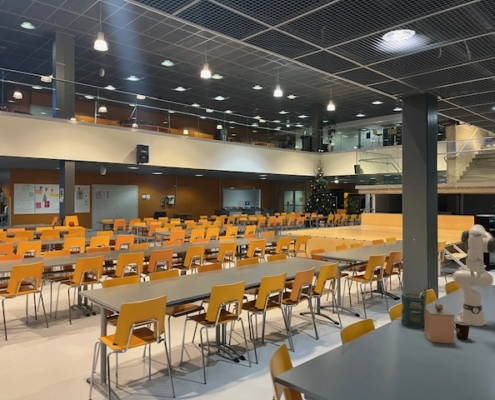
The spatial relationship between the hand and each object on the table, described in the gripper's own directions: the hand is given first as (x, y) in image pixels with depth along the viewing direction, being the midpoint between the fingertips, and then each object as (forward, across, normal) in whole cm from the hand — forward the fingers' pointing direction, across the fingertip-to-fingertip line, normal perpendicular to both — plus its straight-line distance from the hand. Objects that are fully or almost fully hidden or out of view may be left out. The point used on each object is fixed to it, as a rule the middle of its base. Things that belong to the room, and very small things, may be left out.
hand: (475, 278), depth 258 cm
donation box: (+39, +21, +34) cm, 56 cm away
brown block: (+39, -11, +26) cm, 48 cm away
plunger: (+34, -11, +26) cm, 44 cm away
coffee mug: (+39, -5, +10) cm, 41 cm away
